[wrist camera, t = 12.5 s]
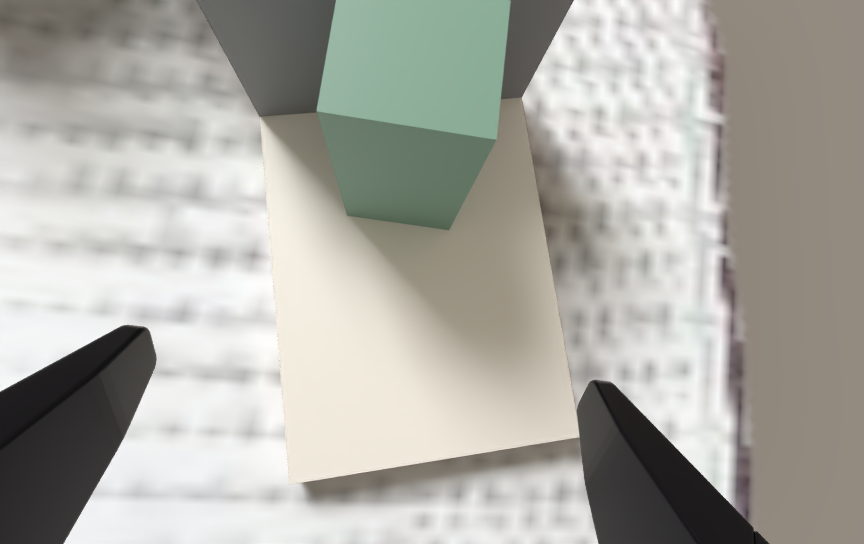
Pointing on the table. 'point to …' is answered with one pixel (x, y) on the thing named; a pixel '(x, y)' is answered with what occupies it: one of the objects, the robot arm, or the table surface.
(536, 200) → the shelf board
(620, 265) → the table surface
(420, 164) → the mint green square pillar
